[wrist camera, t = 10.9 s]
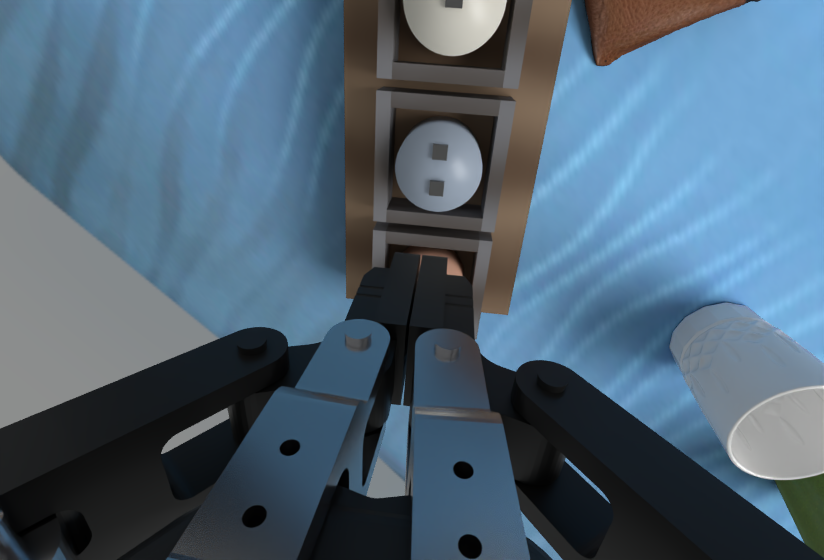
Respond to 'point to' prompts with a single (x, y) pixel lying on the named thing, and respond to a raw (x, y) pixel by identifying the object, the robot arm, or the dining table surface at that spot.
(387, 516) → the robot arm
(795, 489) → the plant pot
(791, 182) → the dining table surface
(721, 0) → the sunglasses case
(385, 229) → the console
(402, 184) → the button two
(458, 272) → the button three
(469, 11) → the button one
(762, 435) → the white cup
